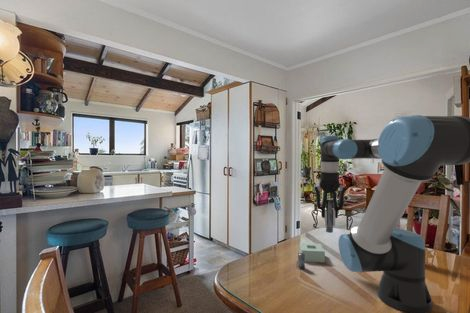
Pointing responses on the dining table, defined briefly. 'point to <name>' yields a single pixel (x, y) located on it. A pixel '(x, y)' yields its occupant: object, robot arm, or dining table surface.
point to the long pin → (329, 215)
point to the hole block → (312, 252)
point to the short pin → (301, 260)
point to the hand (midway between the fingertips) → (329, 225)
